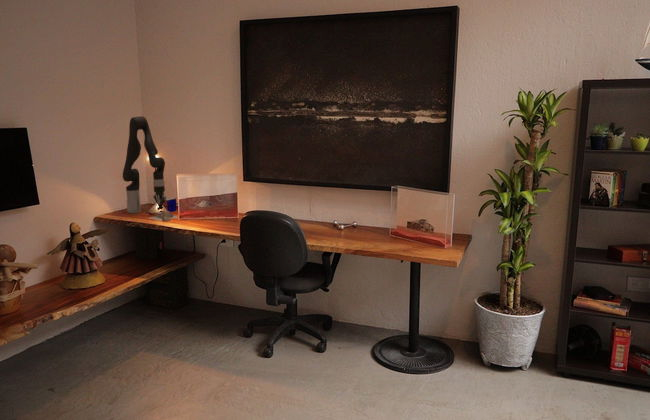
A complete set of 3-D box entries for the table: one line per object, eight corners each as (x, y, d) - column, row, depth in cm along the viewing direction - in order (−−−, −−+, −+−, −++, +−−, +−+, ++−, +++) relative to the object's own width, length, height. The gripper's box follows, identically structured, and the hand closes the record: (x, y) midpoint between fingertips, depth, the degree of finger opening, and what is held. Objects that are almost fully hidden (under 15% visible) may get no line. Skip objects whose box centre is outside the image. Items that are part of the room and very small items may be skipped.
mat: (147, 218, 377) (147, 217, 377) (166, 214, 389) (166, 214, 389) (160, 221, 367) (160, 220, 367) (179, 217, 380) (179, 216, 380)
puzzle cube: (168, 213, 394) (167, 200, 392) (158, 212, 399) (157, 199, 397) (177, 211, 403) (176, 198, 401) (167, 209, 408) (166, 197, 406)
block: (161, 221, 368) (161, 211, 366) (166, 220, 371) (166, 210, 369) (165, 222, 365) (164, 212, 364) (170, 221, 368) (169, 211, 367)
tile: (156, 214, 378) (164, 216, 373) (165, 212, 384) (173, 214, 379) (156, 217, 378) (164, 219, 373) (165, 215, 385) (173, 217, 379)
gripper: (149, 185, 378) (150, 208, 381) (160, 186, 370) (161, 210, 374) (157, 183, 384) (159, 206, 387) (169, 185, 376) (170, 209, 379)
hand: (160, 208), depth 380 cm, fingers closed
